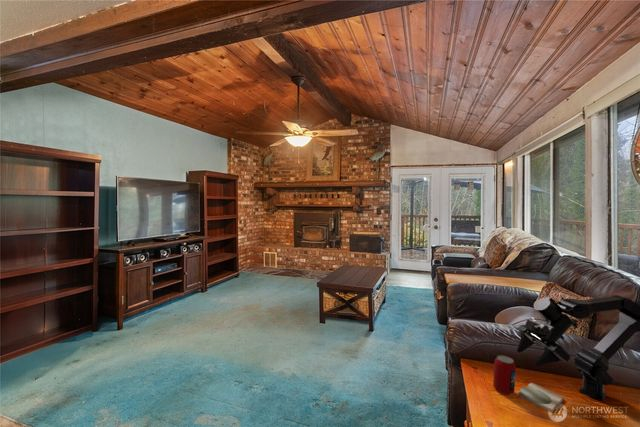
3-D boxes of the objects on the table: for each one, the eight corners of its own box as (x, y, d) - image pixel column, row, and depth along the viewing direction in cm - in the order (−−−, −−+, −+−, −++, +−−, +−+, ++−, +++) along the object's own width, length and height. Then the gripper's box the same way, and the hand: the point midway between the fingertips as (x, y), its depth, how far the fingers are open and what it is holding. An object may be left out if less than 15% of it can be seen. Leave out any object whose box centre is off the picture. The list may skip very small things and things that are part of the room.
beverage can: (517, 397, 105) (519, 365, 105) (497, 394, 106) (499, 362, 106) (509, 386, 112) (511, 355, 111) (490, 383, 113) (491, 353, 113)
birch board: (529, 384, 113) (529, 381, 113) (563, 399, 105) (563, 396, 105) (516, 395, 106) (516, 392, 106) (551, 413, 97) (551, 409, 97)
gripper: (522, 304, 117) (495, 332, 117) (561, 323, 98) (529, 357, 98) (541, 322, 117) (515, 351, 117) (584, 345, 98) (553, 379, 98)
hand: (526, 358), depth 108 cm, fingers open, 9 cm apart
